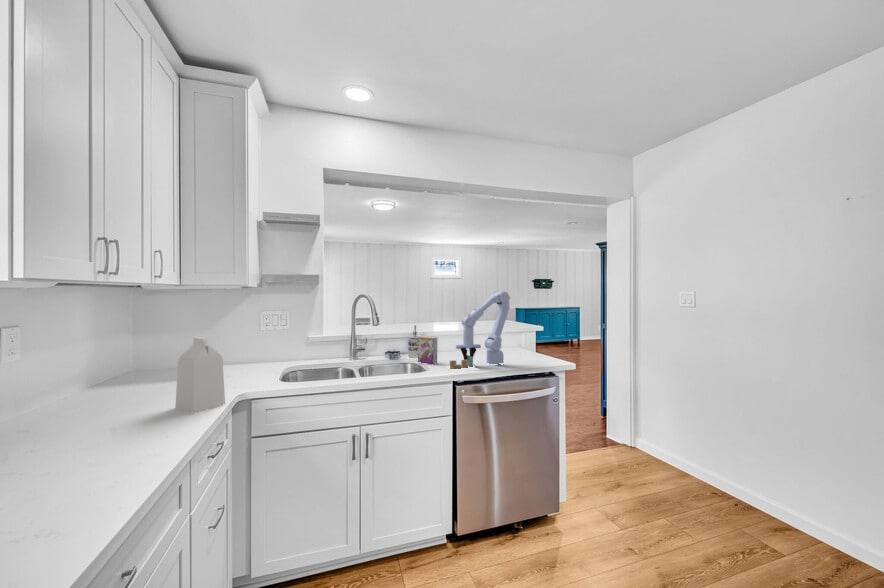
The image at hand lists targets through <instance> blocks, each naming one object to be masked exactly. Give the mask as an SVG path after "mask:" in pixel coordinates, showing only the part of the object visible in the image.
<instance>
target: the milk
mask: <svg viewBox="0 0 884 588" xmlns="http://www.w3.org/2000/svg"><path fill="white" fill-rule="evenodd" d="M223 360H224V359H223V356H222V355H221V354H220V353H219V352H217V350H215V349H214V348H213V347H212V346H211V345H209V341H208V338H207V337H194V338H193V342H192V345H191V346H189V347H188V348H187V349H186V350H185V351H184V352H183V353H182V354H181V355H180V356H179V358H178V360H177V375H176V393H175V406H174V408H175V409H176V408H177V410H180V411H183V410H185V412H187V411H189V412H188V413H191V412H193V413H192V414H196V413H195V412H197V413H200V412H199V411H201V412H204V411H207V410H206V409H208V410H211V409H210V408H212V409H214V408H213V407H215V408H217V407H216V406H219V407H221V406H220V405H222V406H224V405H223V404H225V405H226V396H225V395H226V394H225V379H224V378H225V377H224V361H223ZM203 410H204V411H203Z"/></svg>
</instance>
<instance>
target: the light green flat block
mask: <svg viewBox="0 0 884 588" xmlns="http://www.w3.org/2000/svg"><path fill="white" fill-rule="evenodd" d="M467 360H468V366H469V367H473V365H474V356H473V357H471V356H470V354H467Z"/></svg>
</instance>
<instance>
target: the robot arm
mask: <svg viewBox="0 0 884 588" xmlns="http://www.w3.org/2000/svg"><path fill="white" fill-rule="evenodd" d="M510 299H511V296H510V295H509V293H508V292H507V291H494V292H493V293H492V294H490V296H489V297H488V298H487V299H486V300H485V301H484V302H483V303H482V304H481V305H480V306H479V307H478V306H477V307H474V308H473V310H472V311H471V312H470V313H467V315H466V316H464V317H463V318H462V321H461V324H462V326H463V338H462V339H463V340H462V342H463V344H458V345H457V344H456V345H455V349H456V350H459V349H460V352H461V354H462V356H463V360H467V355H468V349H469V356H471V357H473V358H474V356H475V353H476V352H477V349H481V347H482V346H481V345H482V344H479V343H478V344H475V343H474V326H475V325H476V323H477V321H478V320H479V319H480V318H481V317H483V316H484V314H485V313H484V312H485V311H486V310H487V309H488V308H490V307H491V306H492V305H493V304H496V305H497V306H498V307H499V309H498V313H497V316H496V318H495V322H494V323H493V326H492V327H493V328H492V331H491V333H489V335H488V336H487V338H486V339H485V341H484V346H485V349H486V364H487V363H489V364H499V363H503V364H504V352H503V351H502V350H501V348H502V341H503V339H502V337H501V335H502V332H503V329H504V326H505V323H506V320H507V317H508V313H509V311H510Z"/></svg>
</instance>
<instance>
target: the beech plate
mask: <svg viewBox="0 0 884 588" xmlns="http://www.w3.org/2000/svg"><path fill="white" fill-rule="evenodd" d="M460 361H461V362H460V364H457V360H456V359H455V360H454V359H453V360H449V365H450V369H461V368H468V360H464V359H461V360H460Z"/></svg>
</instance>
